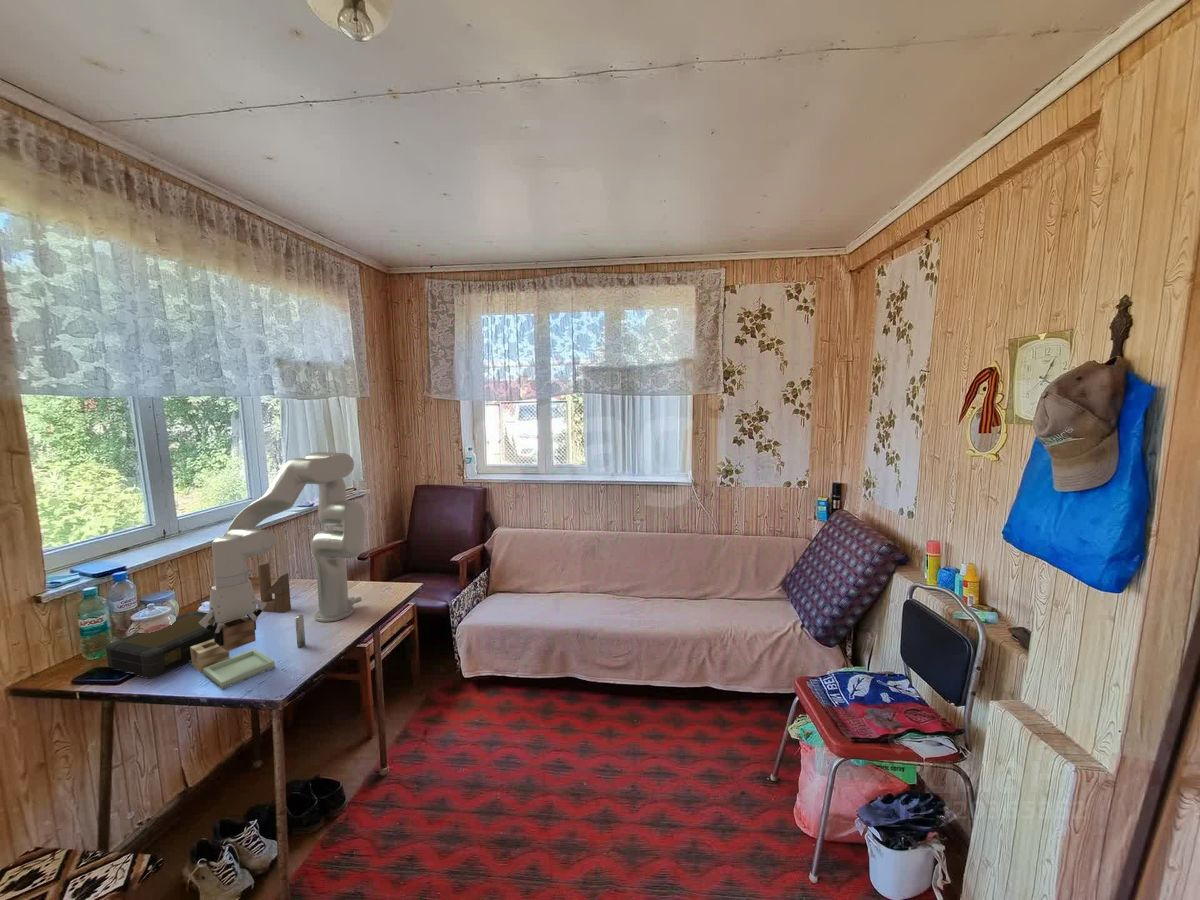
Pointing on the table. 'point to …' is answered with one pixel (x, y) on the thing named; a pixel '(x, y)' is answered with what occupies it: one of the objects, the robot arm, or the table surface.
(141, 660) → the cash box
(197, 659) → the oak block
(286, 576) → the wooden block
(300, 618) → the pin gauge
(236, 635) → the walnut block
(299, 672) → the table surface
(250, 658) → the tray
